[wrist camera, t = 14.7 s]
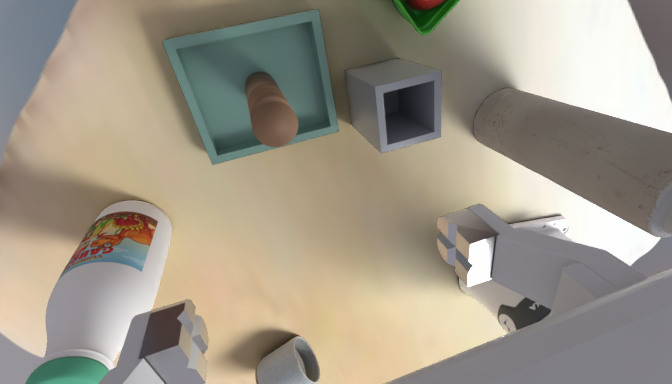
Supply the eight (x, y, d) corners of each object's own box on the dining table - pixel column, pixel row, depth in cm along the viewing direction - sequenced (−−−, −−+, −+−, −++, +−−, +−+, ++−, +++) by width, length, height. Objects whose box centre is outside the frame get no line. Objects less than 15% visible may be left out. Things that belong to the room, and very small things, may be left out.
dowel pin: (271, 68, 33) (292, 97, 22) (279, 99, 35) (302, 140, 24) (240, 75, 33) (245, 108, 22) (250, 106, 34) (259, 152, 23)
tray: (312, 9, 32) (318, 9, 30) (332, 124, 38) (338, 131, 36) (166, 38, 30) (161, 41, 28) (213, 155, 36) (212, 164, 34)
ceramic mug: (250, 355, 53) (253, 403, 47) (290, 327, 53) (299, 372, 47) (288, 377, 59) (295, 422, 53) (324, 352, 59) (336, 395, 53)
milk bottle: (186, 219, 39) (154, 378, 22) (149, 262, 40) (93, 443, 24) (120, 185, 35) (21, 347, 18) (82, 235, 36) (-43, 428, 20)
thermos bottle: (525, 130, 47) (822, 252, 23) (476, 154, 46) (728, 303, 23) (523, 77, 43) (884, 162, 19) (469, 103, 42) (770, 223, 19)
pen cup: (397, 57, 37) (441, 70, 29) (401, 112, 40) (440, 136, 33) (344, 70, 36) (374, 87, 28) (352, 125, 39) (381, 153, 32)
